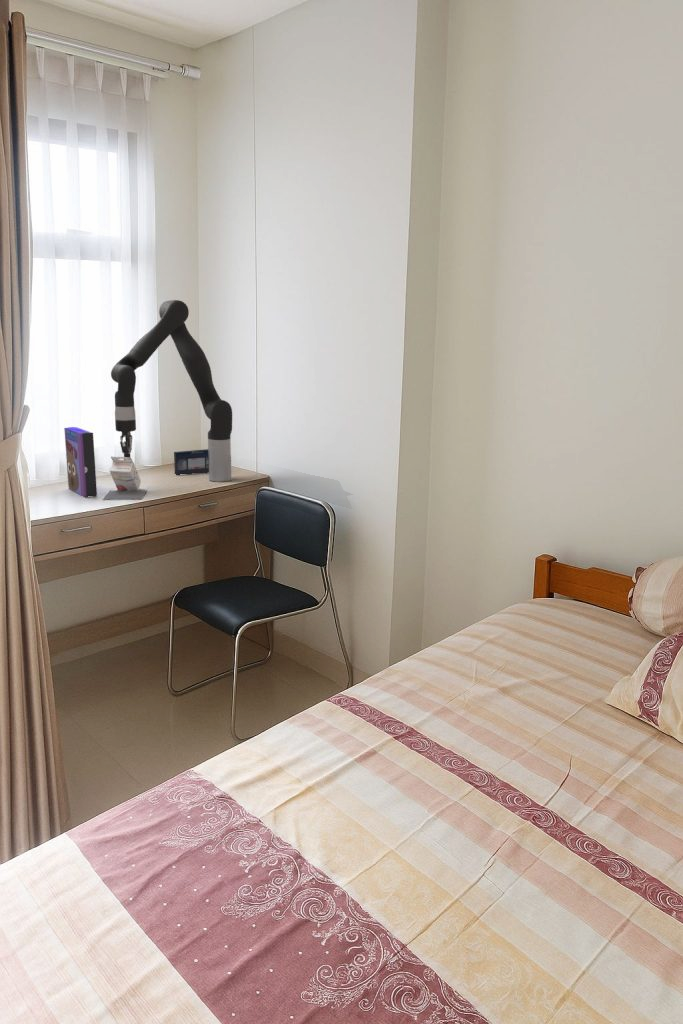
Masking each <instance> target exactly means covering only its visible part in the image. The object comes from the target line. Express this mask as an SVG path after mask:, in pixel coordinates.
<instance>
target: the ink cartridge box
mask: <svg viewBox="0 0 683 1024" xmlns="http://www.w3.org/2000/svg"><path fill="white" fill-rule="evenodd" d="M130 457H131V456H130ZM130 457H124V456H110V458H111V461H112V462H111V465H110V469H109V472H110V475H111V477H112V480H113V482H114V485H115V486H116V489H117V490H140V486H141V483H142V481H141V477H140V476H139V472H138V470H137V467H136V465H135V462H134V461H133V459H132V458H130ZM124 459H125V460H124Z"/></svg>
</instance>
